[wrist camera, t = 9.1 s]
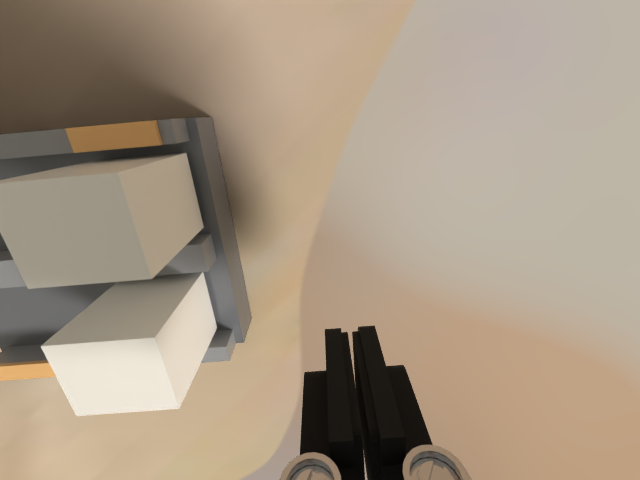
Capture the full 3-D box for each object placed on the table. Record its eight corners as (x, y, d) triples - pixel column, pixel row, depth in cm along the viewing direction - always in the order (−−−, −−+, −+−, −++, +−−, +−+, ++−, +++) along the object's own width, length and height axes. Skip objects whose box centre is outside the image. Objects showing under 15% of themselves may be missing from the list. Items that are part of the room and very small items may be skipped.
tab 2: (122, 277, 14) (40, 346, 10) (202, 271, 14) (154, 337, 10) (142, 333, 15) (76, 416, 11) (217, 327, 15) (179, 408, 11)
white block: (92, 161, 12) (-24, 185, 8) (186, 152, 12) (117, 172, 8) (118, 234, 13) (27, 288, 9) (203, 227, 13) (151, 278, 9)
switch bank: (-58, 141, 14) (-168, 149, 11) (211, 116, 14) (180, 117, 10) (39, 334, 18) (-21, 382, 15) (251, 318, 17) (237, 363, 14)
